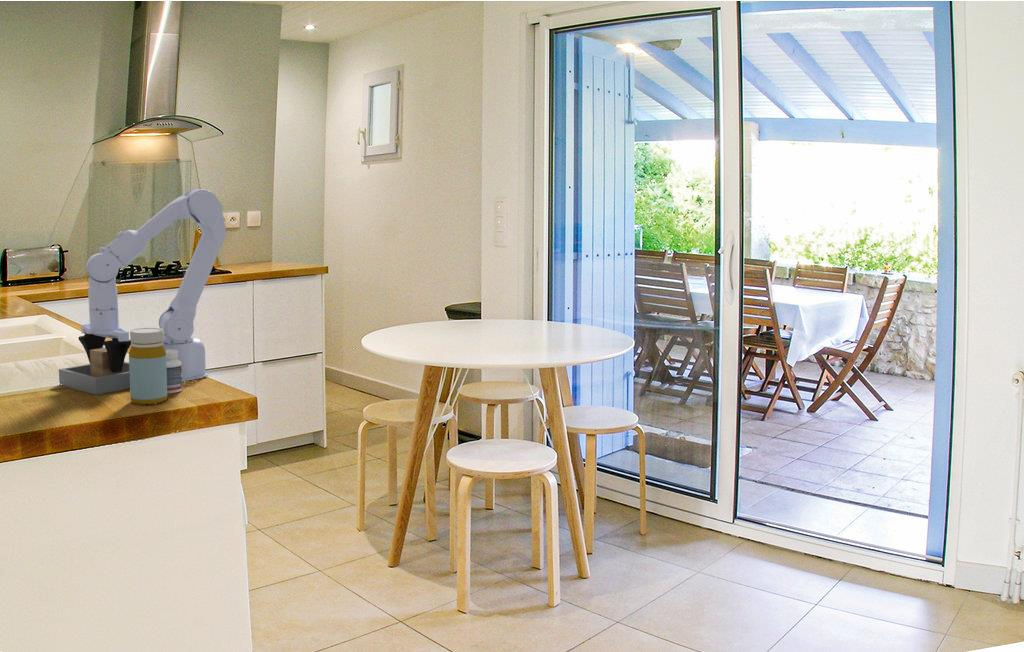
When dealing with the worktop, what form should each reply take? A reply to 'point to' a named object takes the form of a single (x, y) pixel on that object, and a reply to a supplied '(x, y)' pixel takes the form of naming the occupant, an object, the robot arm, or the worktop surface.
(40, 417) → the worktop surface
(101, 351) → the walnut block
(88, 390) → the bin
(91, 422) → the worktop surface
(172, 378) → the pill bottle
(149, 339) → the bottle
